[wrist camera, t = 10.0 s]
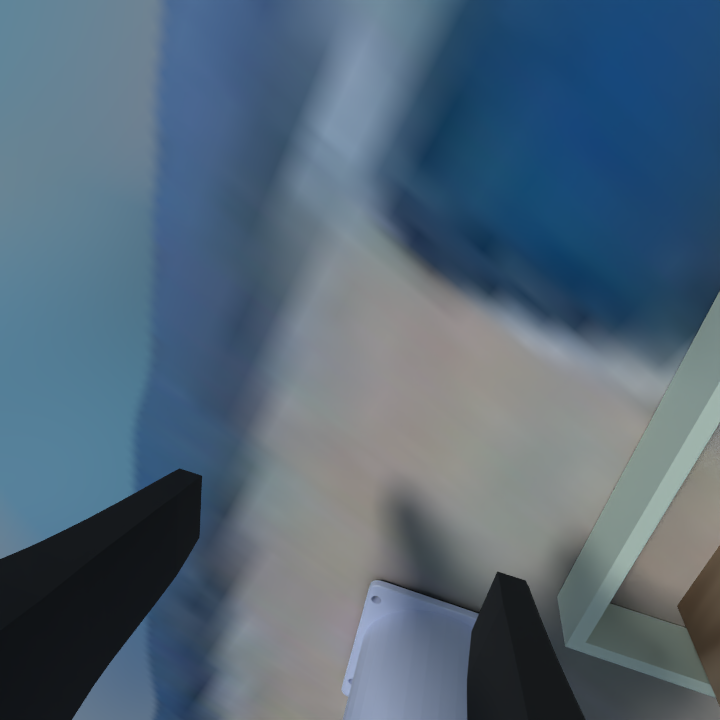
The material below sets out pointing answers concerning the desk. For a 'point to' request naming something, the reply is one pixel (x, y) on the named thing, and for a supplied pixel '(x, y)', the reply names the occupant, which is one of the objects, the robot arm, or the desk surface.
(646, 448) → the bin
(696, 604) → the plain block
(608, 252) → the desk surface
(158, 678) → the desk surface
